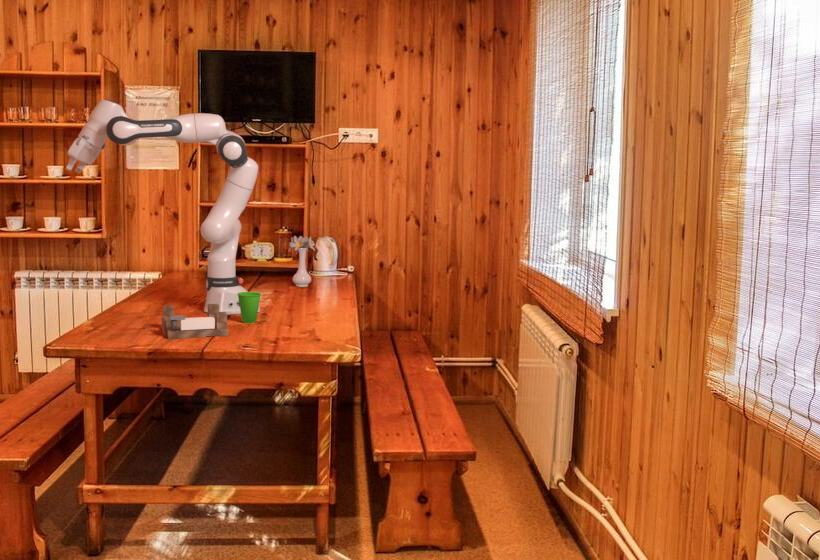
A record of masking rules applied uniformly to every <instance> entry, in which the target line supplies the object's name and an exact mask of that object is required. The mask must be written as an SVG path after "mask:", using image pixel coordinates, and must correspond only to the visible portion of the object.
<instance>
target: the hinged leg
mask: <svg viewBox="0 0 820 560" xmlns="http://www.w3.org/2000/svg"><path fill="white" fill-rule="evenodd" d="M170 320H180V329H181V330H196V329H215V318H214V317H208V316H204V317H203V316H202V317H198V316H197V317H186V316H185V314H183V315H182V314H181V315H179V314H177V315H174V316H170Z"/></svg>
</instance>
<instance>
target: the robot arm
mask: <svg viewBox="0 0 820 560" xmlns="http://www.w3.org/2000/svg"><path fill="white" fill-rule="evenodd" d="M77 136H78V137H77V138H75V140H73V142H72V144H71V146H70V147H69V149H68V150H67V153H66V154H67V156H69V159H68V162H67V163H68V164H67V165H66V167H65V168H66V170H69V171H72V170H73V169H74V166H75V163H77V161H79V164H78V165H77V166H76V167H75V169H74V172H75V173H77V174H80V173H81V172H82V171H83V170H84V169H85V168H86V167H87V165H88V166H92V165H93V164H94V162H95V161H96V160H97V159H98V157H99V155H100V154H101V152H102V151H104V149H105V148H106V140H107V138H108V139H109V140H110V141H111V142H113V143H115V144H117V145H120V146H124V147H125V146H126V147H127V146H131V145H134V144H135V143H136V141H138V139H145V138H146V139H147V138H149V139H150V138H164V139H165V138H166V139H170V140H173V141H176V142H179V143H185V144H188V143H189V144H194V143H195V144H196V143H198V144H199V143H211V144H213V145H214V146H215V148H216V152H217V155H219V157H220V158H221V160H222V161H224V163H226V164H227V165H229V171H228V173H227V176H226V178H225V181H224V183H223V186H222V188H221V190H220V193H219V195H218V197H217V200H216V201H215V203H214V204H213V206H212V208H211V209H210V211H209V212H208V214H207V217H206V218H205V220H204V221H203V222H202V223H201V225H200V234H201V236H202V238H203V240H205V241H206V242H208V243H211V244H210V249H209V252H208V255H207V264H206V265H207V275H206V279H205V289H206V299H205V303H204V307H203V312H204V313H207V314H208V304H218V305H219V312H226V313H227V316H228V315H229V316H230V315H241V311H240V304H239V298H238V295H237V294H238V293H240V292H249V291H248V290H247V289H246V288H245V287H243V286H241V284H243V283H244V279H243V278H242V277H239V276H237V275H236V266H237V265H236V261H237V260H236V259H237V251H238V246H239V239H240V234H241V231H242V223H241V221H240V219H239V218H240V216H241V214H243V212H244V210H245V209H246V207H247V204H248V202H249V199H250V196H251V195H252V193H253V190H254V188H255V185H256V181H257V178H258V173H259V165H258V163H257V162H256V161H255V160H254V159H253V158H251V157H249V156H248V153H247V152H248V151H247V145H246V142H245V140H244V139H243V137H242V136H241V135H240V134H239V133H238V132H235V131H233V130H230V129H229V128H227V127H226V122H225V120H224V118H223V117H222V116H221V115H219V114H214V113H205V112H198V113H196V112H195V113H185V114H180V115H176V116H172V117H169V118H162V119H149V120H146V119H145V120H136V119H132V118H130V117H129V116H128V115H127V113H126V112H125V110H124V108H123V106H122V105H121V104H120V103H118V102H115V101H113V100H111V99H106V98H105V99H101V100H100V101H99V102H98V103H97V104H96V105H95V107H94V109H92V111H91V113H90V115H89V119H88V121H87V122H86V123H85V124H84V125H83V127H82V128H81V131H80V132H79V134H78V135H77ZM259 312H261V307H260V306H259V307H258V313H259Z"/></svg>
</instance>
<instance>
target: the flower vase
mask: <svg viewBox="0 0 820 560" xmlns="http://www.w3.org/2000/svg"><path fill="white" fill-rule="evenodd" d="M288 245H289V249H288V252H290V251H291V250H292V249H294V251H298V254H299V255H298V256H299V258H298V269H297V271H296V273H295V274H294V275H293V277H292V283H294V284H295V287H299V288H305V287H306V288H307V287H309V284H310V283H312V277H311V275H310V273H308V270H307V266H306V254H307V253H309V248H310V249H312V250H313V251H314V252H315V251H316V249H315V247H314V246H315V245H316V244H315V242H314V240H312V237H311V236H309V238H308V237H307V236H306V235H305V236H304V237H303V236H302V235H300V236H299V237H297V236H296V235H294V236H293V237H291V241H290V242H289V244H288Z"/></svg>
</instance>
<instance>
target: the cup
mask: <svg viewBox="0 0 820 560" xmlns="http://www.w3.org/2000/svg"><path fill="white" fill-rule="evenodd" d="M237 295H238V298H239V304H240V311H241V314H240V316H241V322H242V323H243V322H245V323H244V324H254V323H253V322H255V323H256V322H257V319H258V315H259V312H258V307H260V301H261V296H262V293H261V292H258V291H248V292H240V293H238V294H237Z"/></svg>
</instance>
